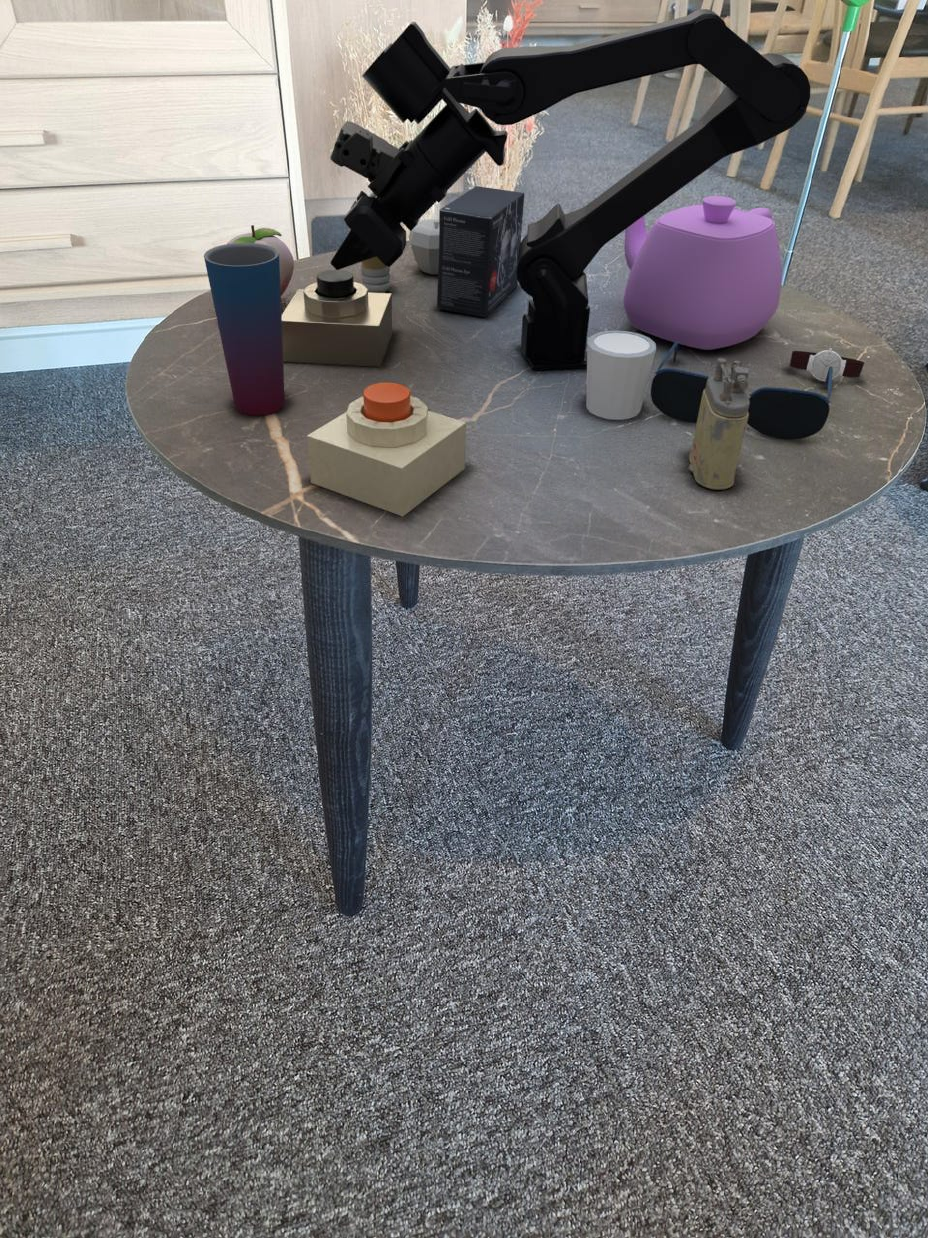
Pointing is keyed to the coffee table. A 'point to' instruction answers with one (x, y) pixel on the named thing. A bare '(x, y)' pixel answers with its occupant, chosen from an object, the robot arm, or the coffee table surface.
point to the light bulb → (375, 275)
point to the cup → (249, 322)
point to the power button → (386, 402)
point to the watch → (826, 364)
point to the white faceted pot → (426, 245)
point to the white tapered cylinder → (618, 373)
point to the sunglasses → (767, 410)
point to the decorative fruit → (268, 239)
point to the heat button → (335, 283)
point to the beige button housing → (387, 456)
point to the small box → (479, 250)
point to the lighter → (720, 427)
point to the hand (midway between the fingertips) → (333, 265)
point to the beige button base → (337, 327)
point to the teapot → (703, 274)
